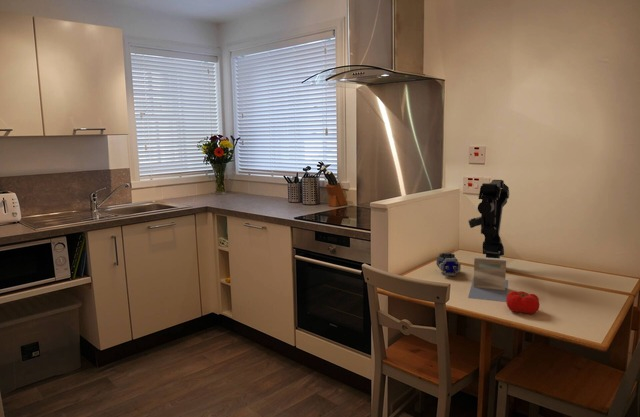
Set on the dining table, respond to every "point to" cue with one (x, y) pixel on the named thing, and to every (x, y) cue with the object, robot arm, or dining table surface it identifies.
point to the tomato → (522, 302)
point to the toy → (448, 264)
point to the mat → (488, 293)
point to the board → (489, 273)
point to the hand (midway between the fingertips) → (487, 246)
